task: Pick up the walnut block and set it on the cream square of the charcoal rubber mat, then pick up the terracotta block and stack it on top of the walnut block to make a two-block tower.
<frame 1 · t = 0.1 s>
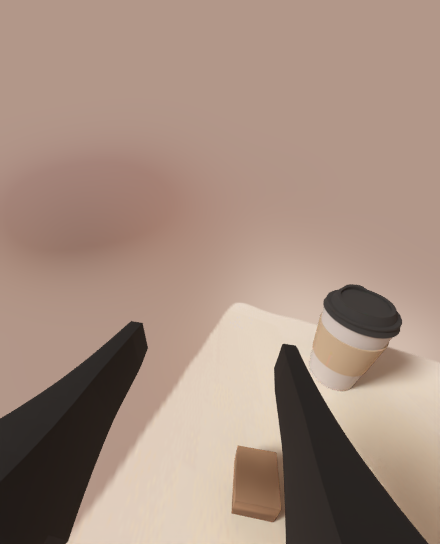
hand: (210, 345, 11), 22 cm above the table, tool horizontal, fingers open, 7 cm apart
coffee cup: (330, 371, 35), on the table
walnut block: (252, 489, 22), on the table
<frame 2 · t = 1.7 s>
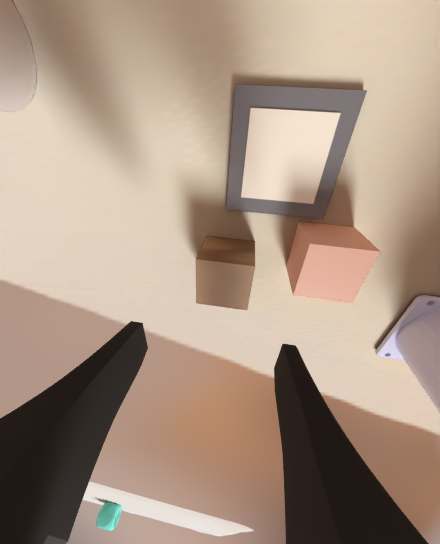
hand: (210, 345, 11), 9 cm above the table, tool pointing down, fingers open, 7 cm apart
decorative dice: (114, 503, 106), on the table
walnut block: (228, 259, 18), on the table
terracotta block: (317, 247, 17), on the table
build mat: (283, 159, 14), on the table
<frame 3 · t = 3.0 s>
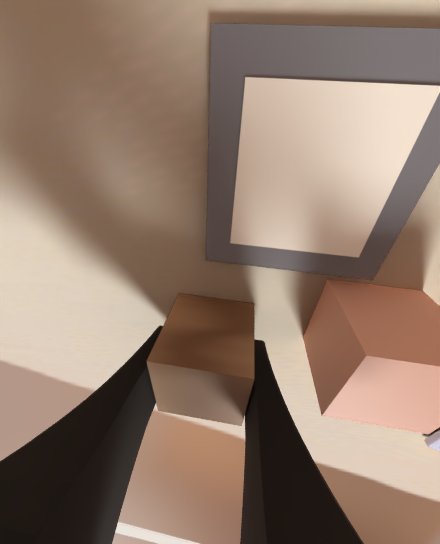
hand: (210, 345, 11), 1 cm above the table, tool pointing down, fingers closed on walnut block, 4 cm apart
walnut block: (214, 324, 12), on the table, touching gripper
terracotta block: (354, 315, 10), on the table
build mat: (308, 180, 7), on the table
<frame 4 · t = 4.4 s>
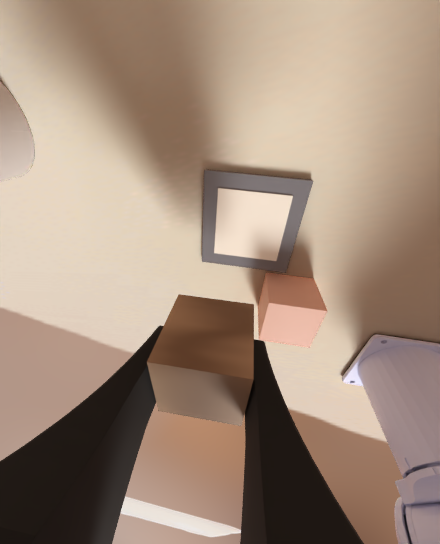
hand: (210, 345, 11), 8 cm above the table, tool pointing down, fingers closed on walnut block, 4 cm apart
walnut block: (214, 325, 12), point 7 cm above the table, touching gripper
terracotta block: (283, 293, 19), on the table
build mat: (249, 225, 16), on the table
when the fingers open (3 cm above the table, at t = 6.1 s): walnut block stays where it is, resting on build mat.
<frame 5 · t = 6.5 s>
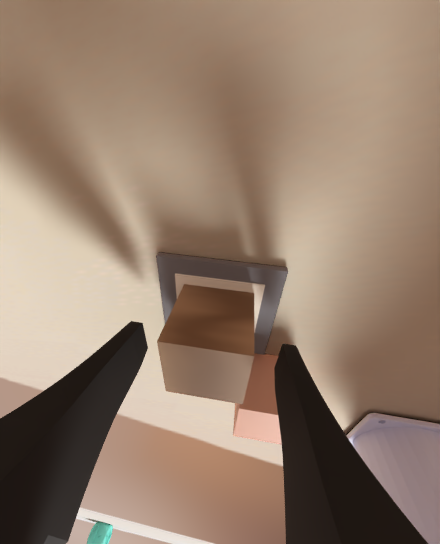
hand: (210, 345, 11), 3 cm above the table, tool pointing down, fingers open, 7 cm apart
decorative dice: (105, 523, 106), on the table
walnut block: (217, 313, 13), resting on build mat
terracotta block: (264, 369, 16), on the table
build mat: (218, 307, 13), on the table
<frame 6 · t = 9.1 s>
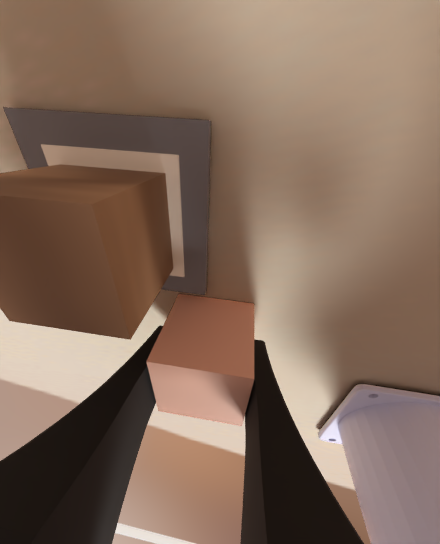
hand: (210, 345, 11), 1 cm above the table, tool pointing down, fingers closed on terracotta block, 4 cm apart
walnut block: (123, 222, 9), resting on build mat
terracotta block: (214, 324, 12), on the table, touching gripper
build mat: (128, 216, 9), on the table
when the fingers open (7 cm above the table, at t = 11.9 s): terracotta block stays where it is, resting on walnut block.
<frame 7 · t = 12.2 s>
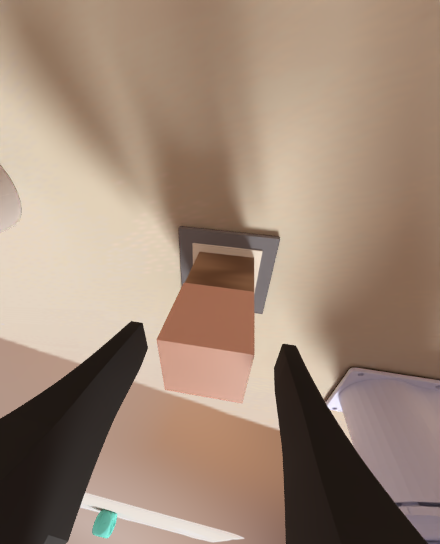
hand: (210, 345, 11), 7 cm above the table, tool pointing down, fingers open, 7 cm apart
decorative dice: (109, 511, 109), on the table
walnut block: (224, 277, 16), resting on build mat, touching terracotta block
terracotta block: (216, 312, 13), point 4 cm above the table, touching walnut block
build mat: (225, 272, 17), on the table
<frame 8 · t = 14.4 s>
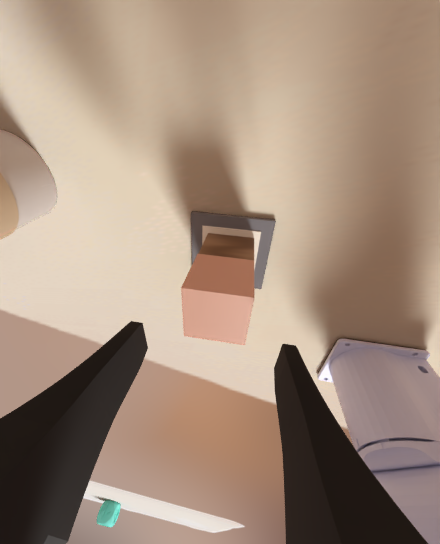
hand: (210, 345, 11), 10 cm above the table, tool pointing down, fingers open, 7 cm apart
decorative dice: (113, 501, 112), on the table
coffee cup: (20, 176, 18), on the table
walnut block: (229, 255, 19), resting on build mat, touching terracotta block
terracotta block: (223, 280, 16), point 4 cm above the table, touching walnut block
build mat: (229, 252, 19), on the table
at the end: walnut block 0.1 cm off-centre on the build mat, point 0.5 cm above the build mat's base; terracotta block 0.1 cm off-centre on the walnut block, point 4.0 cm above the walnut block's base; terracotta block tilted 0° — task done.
